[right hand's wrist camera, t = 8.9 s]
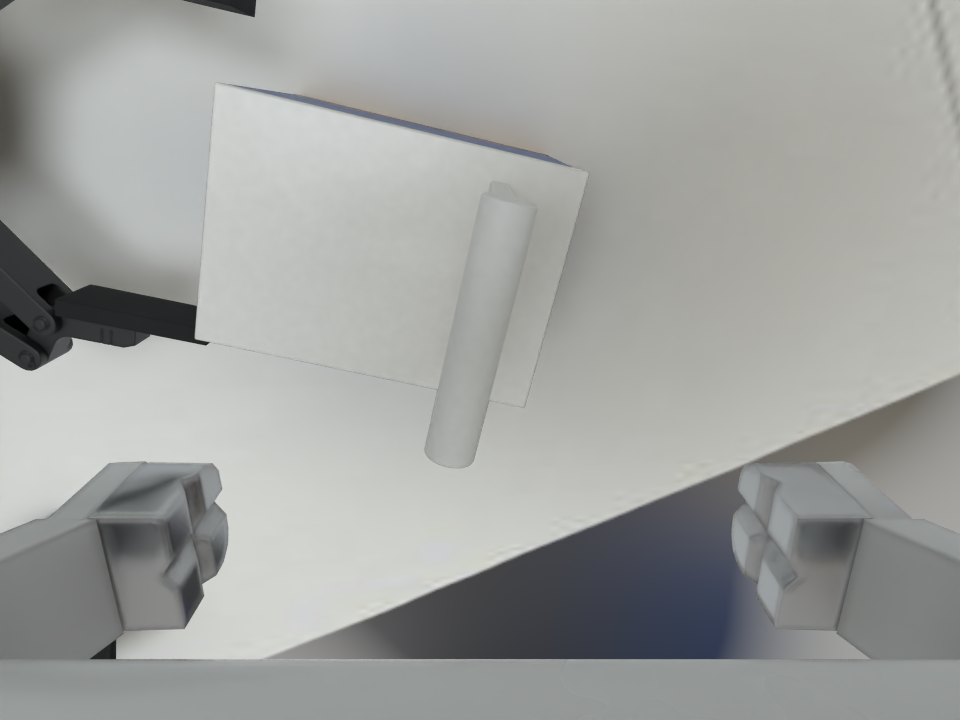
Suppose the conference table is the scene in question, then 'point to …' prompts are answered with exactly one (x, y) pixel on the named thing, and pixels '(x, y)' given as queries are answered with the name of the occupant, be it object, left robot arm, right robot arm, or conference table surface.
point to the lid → (383, 254)
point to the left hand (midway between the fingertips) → (231, 178)
